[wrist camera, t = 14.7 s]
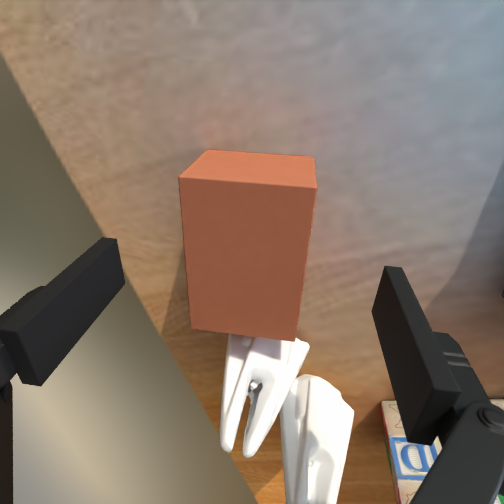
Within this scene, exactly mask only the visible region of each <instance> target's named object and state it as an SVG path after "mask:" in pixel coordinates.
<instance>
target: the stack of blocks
mask: <svg viewBox="0 0 504 504" xmlns="http://www.w3.org/2000/svg"><path fill="white" fill-rule="evenodd" d="M490 401H491V403H492V404H494V405H496V406H498V407H500V408H501V409H503V410H504V399H490ZM381 409H382V419H383V425H384V435H385V445H386V450H387V455H388V460H389V465H390V469H391V474H392V478H393V485H394V490H395V495H396V500H397V504H409V503H410V501H411V500H412V498H413V496H414V495H415V493H416V491H417V490H418V488H419V486H420V485H421V483H422V481H423V480H424V478H425V476H426V474H427V473H428V471H429V469H430V468H431V466H432V464H433V463H434V461H435V459H436V458H437V456H438V454H439V453H440V451H441V449H442V447H441V444H440V441H439V438H438V436H437V437H436V439H435V441H434V443H433V444H432V446H428V445H421V444H415V443H408V442H407V439H406V436H405V432H404V428H403V425H402V421H401V417H400V414H399V410H398V406H397V403H396V400H394V401H381ZM494 504H504V496H502V495H499V494H497V497H496V499H495V502H494Z"/></svg>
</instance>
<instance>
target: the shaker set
mask: <svg viewBox="0 0 504 504" xmlns="http://www.w3.org/2000/svg"><path fill="white" fill-rule="evenodd" d="M309 347H310V346H309V345H308V343H306V342H303V341H300V340H299V339H297V338H296V340H295V342H292V341H284V340H276V339H268V338H260V337H252V336H244V335H236V334H229V337H228V344H227V352H226V360H225V369H224V379H223V390H222V402H221V416H220V446H221V448H222V449H223V450H224V451H226V452H231V451H232V449H233V445H234V441H235V438H236V435H237V430H238V425H239V422H240V418H241V414H242V411H243V407H244V403H245V400H246V396H249V397H250V401H251V404H250V408H249V413H248V420H247V424H246V429H245V432H244V440H243V456H244V457H246V458H250V457H252V456H253V455H254V454H255V453H256V451H257V450H258V448H259V447H260V445H261V444H262V442H263V440H264V439H265V437H266V435H267V434H268V432H269V430H270V429H271V427H272V425H273V423H274V421H275V419H276V417H277V415H278V413H279V411H280V430H281V446H282V460H283V471H284V483H285V496H286V504H336V502H337V497H338V492H339V488H340V483H341V478H342V474H343V469H344V464H345V460H346V455H347V449H348V444H349V439H350V434H351V428H352V423H353V416H354V411H353V409H352V408H351V407H350V406H349V405H348V404H347V403H346V402H344V400H343V399H342V397H341V393H340V392H339V391H338V390H337V389H336V388H334V387H333V386H332V385H331V384H330V383H328V382H327V381H325V380H324V379H322V378H320V377H317V376H313V375H309V374H304V375H301V376H299V377H297V378H296V376H297V374H299V371H300V368H301V367H302V364H303V362H304V359H305V357H306V355H307V352H309Z"/></svg>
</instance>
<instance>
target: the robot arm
mask: <svg viewBox="0 0 504 504" xmlns="http://www.w3.org/2000/svg"><path fill="white" fill-rule="evenodd" d="M124 284H125V279H124V274H123V269H122V264H121V259H120V254H119V249H118V244H117V239H114V238H104V237H102V238H101V239H100V240H99V241H97V242H96V243H95V244H94V245H93V246H92V247H90V248H89V249H88V250H87V251H86V252H85V253H83V254H82V255H81V256H80V257H79V258H78V259H76V260H75V261H74V262H73V263H72V264H71V265H70V266H68V267H67V268H66V269H65V270H63V271H62V272H61V273H60V274H59V275H58V276H57V277H55V278H54V279H53V280H52V281H51V282H49V283H48V284H47V285H46V286H40V287H38V288H36V289H34V290H32V291H30V292H28V293H27V294H26V295H25V296H23V297H22V298H21V299H20V300H19V301H18V302H16V303H15V304H14V305H12V306H11V307H10V309H8V310H6V311H5V312H4V313H3V314H1V315H0V504H13V409H12V408H13V407H12V406H13V402H12V385H11V382H10V380H11V379H12V378H13V376H14V375H15V374H16V373H17V374H18V376H19V378H20V380H21V382H22V383H23V384H29V385H36V386H42V385H43V383H44V382H45V381H46V380H47V379H48V377H49V376H50V375H51V374H52V372H53V371H54V370H55V369H56V368H57V366H58V365H59V364H60V363H61V361H62V360H63V359H64V358H65V357H66V355H67V354H68V353H69V352H70V350H71V349H72V348H73V347H74V346H75V344H76V343H77V342H78V340H79V339H80V338H81V337H82V335H83V334H84V333H85V332H86V331H87V330H88V328H89V327H90V326H91V325H92V323H93V322H94V321H95V320H96V319H97V317H98V316H99V315H100V314H101V312H102V311H103V310H104V309H105V308H106V306H107V305H108V304H109V303H110V301H111V300H112V299H113V298H114V296H115V295H116V294H117V293H118V291H119V290H120V289H121V288H122V287H123V285H124ZM372 315H373V319H374V322H375V326H376V330H377V333H378V337H379V341H380V344H381V348H382V352H383V355H384V359H385V363H386V366H387V370H388V374H389V377H390V381H391V385H392V388H393V392H394V395H395V399H396V403H397V406H398V410H399V414H400V417H401V421H402V425H403V428H404V432H405V436H406V439H407V442H408V443H415V444H421V445H428V446H432V444H433V443H434V441H435V439H436V437H437V436H438V438H439V441H440V444H441V447H442V449H441V451H440V453H439V454H438V456H437V458H436V459H435V461H434V463H433V464H432V466H431V468H430V469H429V471H428V473H427V474H426V476H425V478H424V480H423V481H422V483H421V485H420V486H419V488H418V490H417V491H416V493H415V495H414V496H413V498H412V500H411V501H410V503H409V504H494V502H495V499H496V497H497V494H499V495H502V496H504V410H503V409H501V408H500V407H498V406H496V405H494V404H492V403H491V401H490V399H489V398H488V396H487V394H486V392H485V390H484V389H483V387H482V385H481V383H480V381H479V380H478V378H477V376H476V374H475V372H474V371H473V369H472V368H471V367H470V363H469V362H468V360H467V358H465V354H464V353H463V351H462V349H461V347H460V345H459V344H458V343H457V342H456V341H455V340H454V339H453V338H452V337H451V336H450V335H449V334H447V333H439V332H433V331H432V329H431V327H430V325H429V323H428V321H427V319H426V317H425V315H424V313H423V311H422V308H421V306H420V304H419V302H418V300H417V298H416V296H415V294H414V292H413V290H412V288H411V286H410V284H409V281H408V279H407V277H406V275H405V273H404V271H403V269H402V268H401V267H391V266H385V267H384V270H383V274H382V277H381V280H380V284H379V287H378V291H377V294H376V298H375V301H374V305H373V308H372Z"/></svg>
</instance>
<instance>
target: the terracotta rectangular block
mask: <svg viewBox="0 0 504 504" xmlns="http://www.w3.org/2000/svg"><path fill="white" fill-rule="evenodd" d="M178 180H179V192H180V204H181V216H182V228H183V240H184V252H185V263H186V275H187V287H188V299H189V311H190V323H191V329H196V330H204V331H212V332H220V333H228V334H236V335H244V336H252V337H260V338H268V339H276V340H284V341H292V342H295V340H296V333H297V326H298V319H299V312H300V305H301V298H302V291H303V284H304V277H305V270H306V263H307V256H308V249H309V242H310V235H311V228H312V221H313V215H314V208H315V201H316V194H317V181H316V172H315V163H314V157H306V156H292V155H277V154H263V153H248V152H234V151H220V150H206V151H205V152H204V153H203V154H202V155H201V156H200V157H199V158H198V159H197V160H196V161H195V162H194V163H192V164H191V165H190V166H189V167H188V168H187V169H186V170H185V171H184V172H183V173H182V174H181V175H180V176H179V177H178Z"/></svg>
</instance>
